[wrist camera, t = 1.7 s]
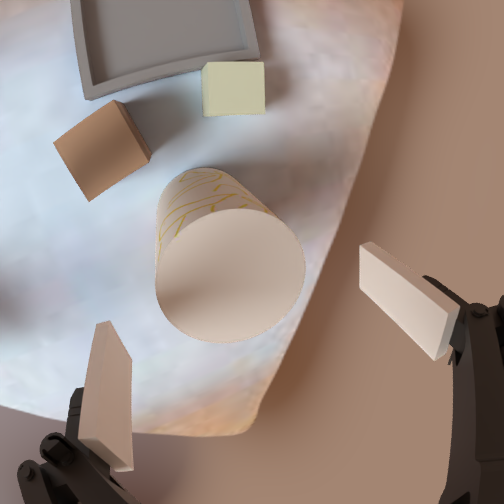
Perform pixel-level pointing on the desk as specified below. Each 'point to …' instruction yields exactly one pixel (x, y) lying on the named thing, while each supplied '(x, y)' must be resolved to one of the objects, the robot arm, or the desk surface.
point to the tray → (156, 39)
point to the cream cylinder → (223, 259)
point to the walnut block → (103, 149)
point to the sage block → (233, 88)
